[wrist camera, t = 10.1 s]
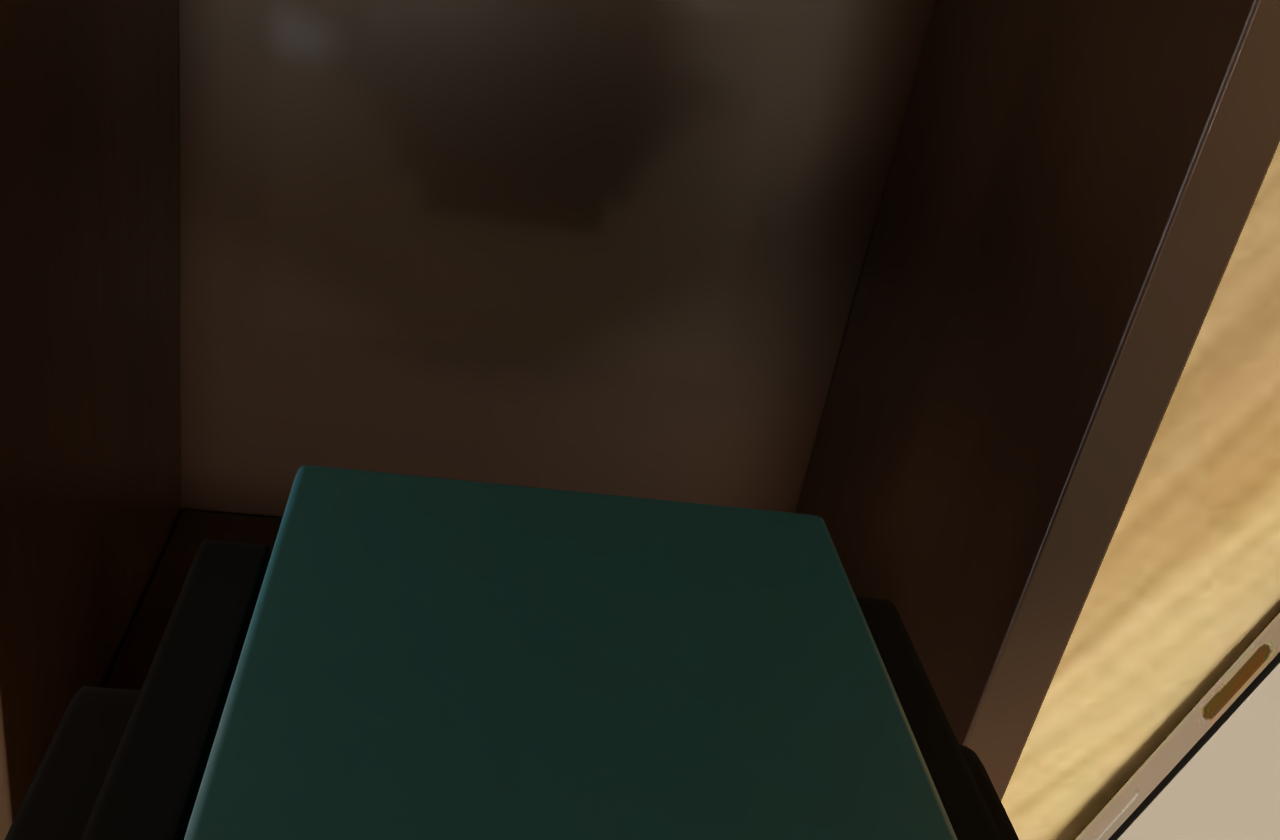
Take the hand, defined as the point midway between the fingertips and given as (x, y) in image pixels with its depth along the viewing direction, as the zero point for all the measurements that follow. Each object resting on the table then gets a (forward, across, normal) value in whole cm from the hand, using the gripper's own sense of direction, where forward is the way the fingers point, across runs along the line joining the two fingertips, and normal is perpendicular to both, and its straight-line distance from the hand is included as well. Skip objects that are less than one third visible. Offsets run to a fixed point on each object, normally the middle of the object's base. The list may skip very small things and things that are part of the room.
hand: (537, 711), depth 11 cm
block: (0, 0, 0) cm, 0 cm away
